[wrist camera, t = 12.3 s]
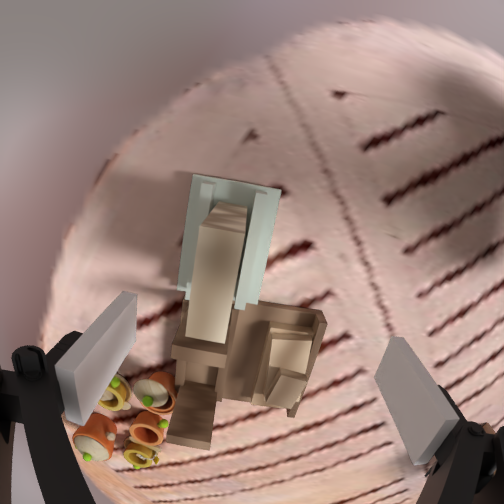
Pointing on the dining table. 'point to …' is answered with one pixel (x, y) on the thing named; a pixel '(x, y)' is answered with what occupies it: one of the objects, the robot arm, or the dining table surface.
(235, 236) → the birch block
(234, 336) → the rack
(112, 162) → the dining table surface
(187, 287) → the stand
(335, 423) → the dining table surface
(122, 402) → the toy tea set
